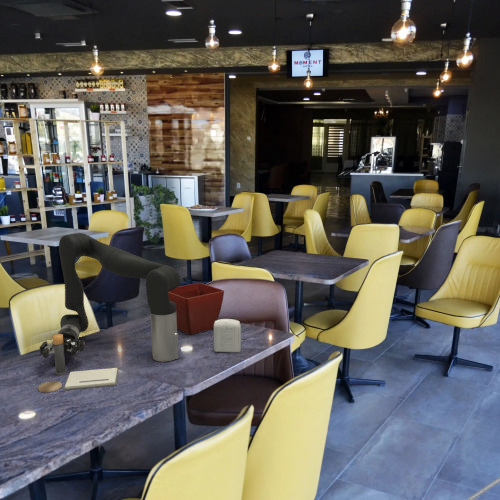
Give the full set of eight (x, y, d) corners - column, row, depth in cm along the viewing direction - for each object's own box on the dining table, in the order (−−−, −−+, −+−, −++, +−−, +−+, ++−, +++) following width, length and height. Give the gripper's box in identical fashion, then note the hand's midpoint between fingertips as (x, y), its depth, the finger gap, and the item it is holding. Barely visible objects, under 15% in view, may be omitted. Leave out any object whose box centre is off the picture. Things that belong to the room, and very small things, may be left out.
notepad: (118, 370, 169) (118, 367, 168) (116, 385, 157) (116, 382, 157) (69, 374, 166) (69, 371, 165) (63, 390, 154) (63, 387, 154)
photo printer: (241, 348, 186) (241, 317, 184) (240, 353, 182) (240, 321, 180) (214, 348, 187) (213, 317, 185) (213, 352, 183) (212, 321, 181)
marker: (66, 371, 168) (63, 333, 165) (65, 375, 165) (61, 336, 162) (56, 372, 167) (53, 334, 165) (54, 376, 164) (51, 337, 162)
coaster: (63, 381, 160) (63, 380, 160) (59, 391, 153) (59, 389, 153) (40, 383, 159) (40, 382, 159) (36, 393, 152) (35, 392, 152)
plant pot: (200, 318, 223) (199, 281, 220) (226, 328, 209) (225, 290, 205) (163, 327, 211) (161, 289, 208) (187, 339, 197) (186, 298, 193)
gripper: (45, 329, 178) (35, 345, 163) (86, 326, 181) (80, 342, 165) (47, 348, 180) (37, 366, 164) (88, 345, 182) (82, 363, 167)
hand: (59, 354), depth 165 cm, fingers open, 8 cm apart
